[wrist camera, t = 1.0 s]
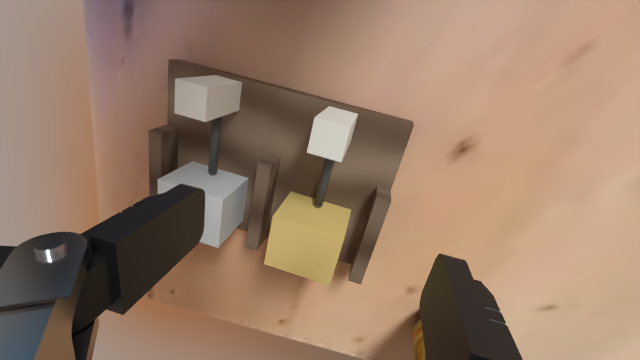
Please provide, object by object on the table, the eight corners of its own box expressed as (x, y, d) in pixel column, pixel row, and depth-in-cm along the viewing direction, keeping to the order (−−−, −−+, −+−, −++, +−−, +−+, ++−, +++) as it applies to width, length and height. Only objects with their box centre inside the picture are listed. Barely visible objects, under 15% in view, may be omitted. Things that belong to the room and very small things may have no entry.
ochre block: (309, 100, 25) (289, 110, 20) (379, 118, 25) (376, 134, 20) (282, 234, 31) (260, 269, 26) (338, 251, 30) (328, 291, 25)
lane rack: (179, 59, 28) (148, 59, 24) (412, 121, 26) (416, 131, 22) (175, 198, 34) (149, 215, 30) (363, 258, 32) (360, 284, 28)
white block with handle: (197, 70, 26) (152, 72, 21) (261, 87, 26) (230, 93, 21) (190, 204, 32) (153, 230, 27) (242, 220, 31) (215, 251, 26)
